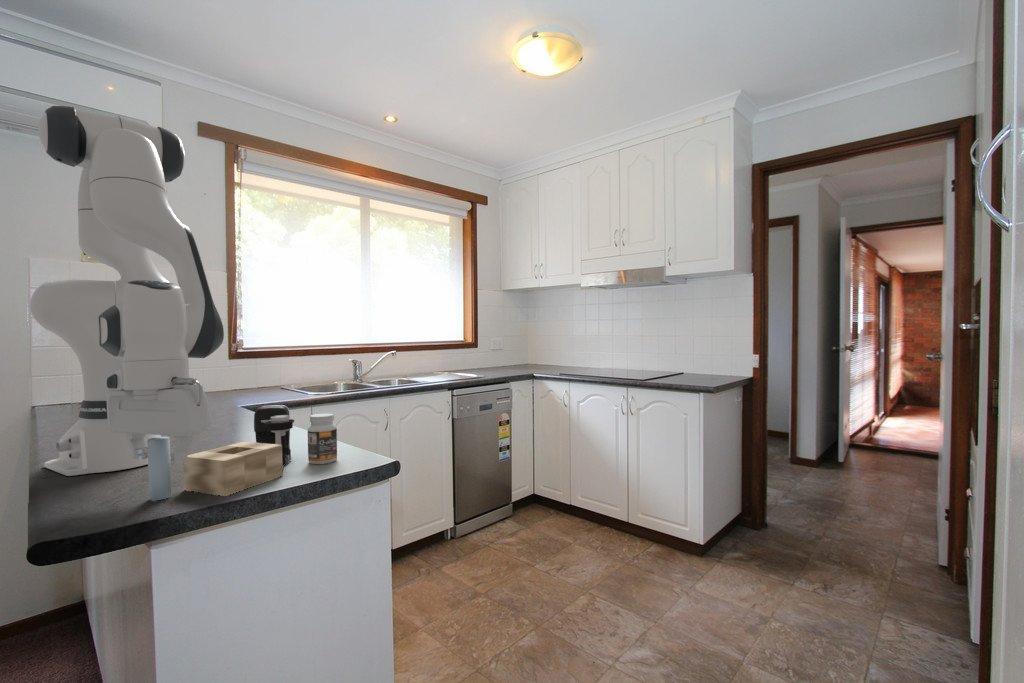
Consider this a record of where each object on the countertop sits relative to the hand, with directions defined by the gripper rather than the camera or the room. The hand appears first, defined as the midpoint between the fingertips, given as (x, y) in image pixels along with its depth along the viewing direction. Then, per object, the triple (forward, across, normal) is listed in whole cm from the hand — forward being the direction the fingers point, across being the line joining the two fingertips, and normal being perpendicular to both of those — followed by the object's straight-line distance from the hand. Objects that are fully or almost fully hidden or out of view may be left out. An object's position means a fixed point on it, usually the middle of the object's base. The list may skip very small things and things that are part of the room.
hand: (159, 460), depth 80 cm
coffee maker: (+6, +4, -26) cm, 27 cm away
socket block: (+6, -4, -10) cm, 13 cm away
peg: (+6, +1, 0) cm, 6 cm away
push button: (+6, -2, -22) cm, 23 cm away
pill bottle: (+6, -9, -27) cm, 29 cm away
